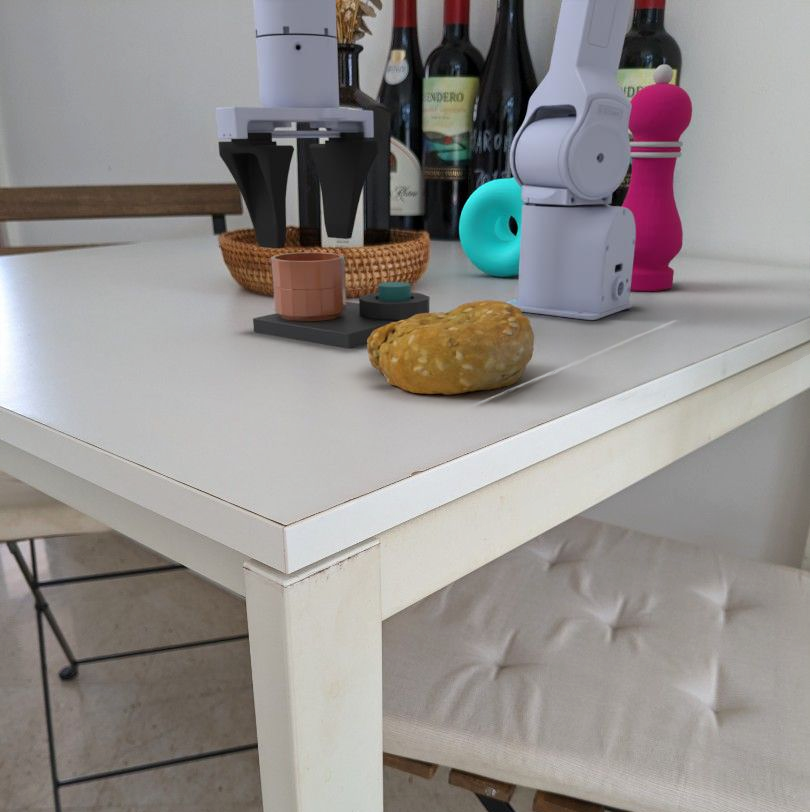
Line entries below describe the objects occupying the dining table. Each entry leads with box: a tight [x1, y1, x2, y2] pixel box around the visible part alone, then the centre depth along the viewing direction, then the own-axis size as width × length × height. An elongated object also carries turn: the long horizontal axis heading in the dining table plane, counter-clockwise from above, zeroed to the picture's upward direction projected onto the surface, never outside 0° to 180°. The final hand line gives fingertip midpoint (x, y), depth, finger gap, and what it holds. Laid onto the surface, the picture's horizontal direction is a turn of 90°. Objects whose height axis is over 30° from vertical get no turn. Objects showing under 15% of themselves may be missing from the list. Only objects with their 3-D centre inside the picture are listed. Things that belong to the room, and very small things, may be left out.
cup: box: [270, 251, 347, 321], centre depth 67 cm, size 6×6×4 cm
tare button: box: [377, 281, 412, 301], centre depth 68 cm, size 3×3×1 cm
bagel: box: [366, 299, 535, 396], centre depth 54 cm, size 10×11×5 cm
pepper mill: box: [621, 64, 693, 292], centre depth 84 cm, size 7×7×20 cm
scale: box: [252, 291, 430, 350], centre depth 68 cm, size 11×11×2 cm
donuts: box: [458, 176, 526, 278], centre depth 95 cm, size 10×10×10 cm
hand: (307, 242), depth 66 cm, fingers open, 7 cm apart
